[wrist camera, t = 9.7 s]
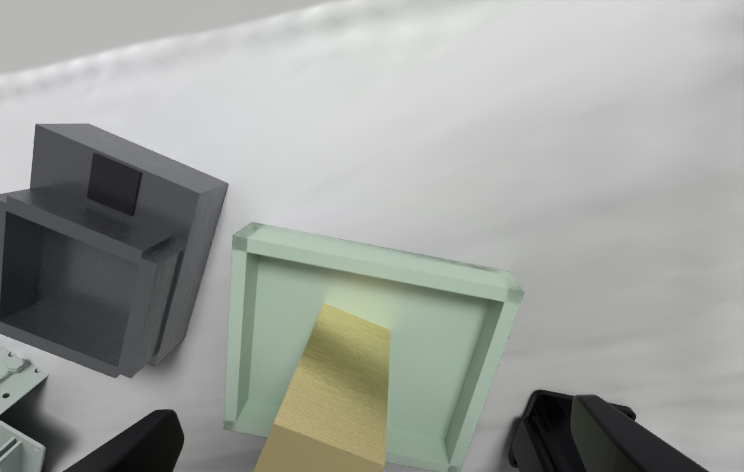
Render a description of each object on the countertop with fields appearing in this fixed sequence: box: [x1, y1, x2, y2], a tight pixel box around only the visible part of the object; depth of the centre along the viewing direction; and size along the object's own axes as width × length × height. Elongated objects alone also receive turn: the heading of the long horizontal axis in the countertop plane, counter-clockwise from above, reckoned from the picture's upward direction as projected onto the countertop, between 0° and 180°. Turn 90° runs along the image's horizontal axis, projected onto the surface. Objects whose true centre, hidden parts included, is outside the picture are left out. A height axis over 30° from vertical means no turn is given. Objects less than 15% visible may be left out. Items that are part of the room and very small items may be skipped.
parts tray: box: [223, 222, 524, 472], centre depth 22 cm, size 16×14×2 cm
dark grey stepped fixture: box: [0, 124, 228, 378], centre depth 19 cm, size 8×12×5 cm
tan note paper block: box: [253, 303, 391, 472], centre depth 18 cm, size 4×4×9 cm
